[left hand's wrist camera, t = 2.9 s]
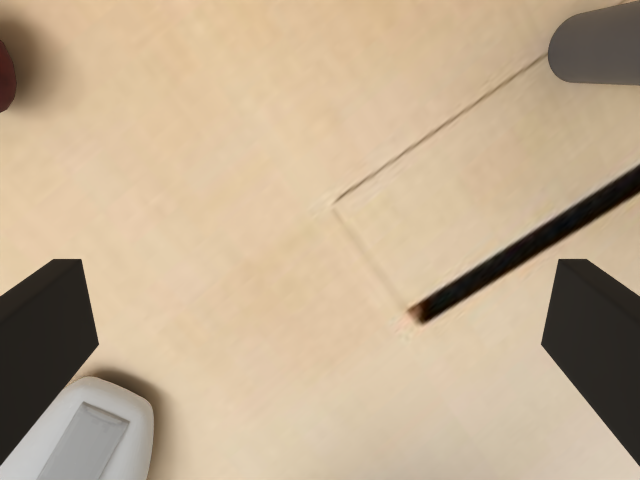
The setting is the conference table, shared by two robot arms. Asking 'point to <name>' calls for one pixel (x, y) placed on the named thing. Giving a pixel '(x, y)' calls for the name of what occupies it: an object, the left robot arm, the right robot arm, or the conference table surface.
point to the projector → (87, 436)
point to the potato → (6, 79)
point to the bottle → (599, 46)
